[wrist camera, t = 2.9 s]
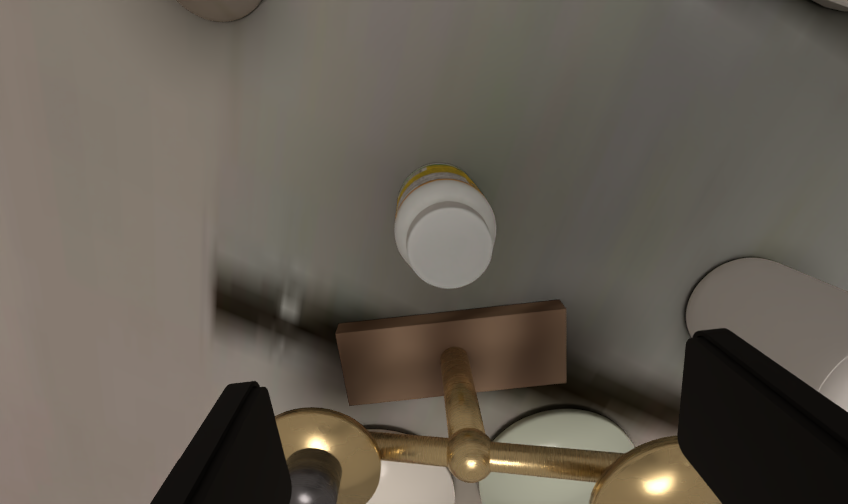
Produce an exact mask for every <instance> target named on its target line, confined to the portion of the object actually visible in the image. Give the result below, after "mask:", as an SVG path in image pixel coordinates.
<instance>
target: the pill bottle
mask: <svg viewBox="0 0 848 504" xmlns="http://www.w3.org/2000/svg"><path fill="white" fill-rule="evenodd" d="M686 323H687V328H688V331H689V333H690V335H691V337H693V335H694V333H695V332H697V331H700V330H709V329H718V328H726V329H728V330H730V331H732V332H733V333H735V334H736V335H737V336H739V337H740V338H742V339H743V340H745V341H746V342H747V343H749V344H750V345H752V346H753V347H755V348H756V349H758V350H759V351H760V352H762V353H763V354H765V355H766V356H768V357H769V358H770V359H772V360H773V361H775V362H776V363H778V364H779V365H781V366H782V367H783V368H785V369H786V370H788V371H789V372H791V373H792V374H794V375H795V376H796V377H798V378H799V379H801V380H802V381H804V382H805V383H806V384H808V385H809V386H811V387H812V388H814V389H815V390H817V391H818V392H819V393H821V394H822V395H824V396H825V397H827V398H828V399H829V400H831V401H832V402H834V403H835V404H837V405H838V406H840V407H841V408H842V409H844V410H845V411H847V412H848V292H847V291H845V290H842V289H840V288H837V287H835V286H833V285H830V284H828V283H826V282H823V281H821V280H818V279H816V278H814V277H811V276H809V275H806V274H804V273H802V272H799V271H797V270H795V269H792V268H790V267H787V266H785V265H783V264H780V263H778V262H774V261H771V260H767V259H763V258H742V259H737V260H733V261H730V262H727V263H725V264H723V265H721V266H719V267H717V268H716V269H714V270H713V271H711V272H710V273H709V274H707V275H706V276H705V277H704V278H703V279H702V280H701V281H700V282H699V284H698V285H697V286H696V288H695V289H694V291H693V293H692V294H691V297H690V299H689V302H688V305H687V309H686Z"/></svg>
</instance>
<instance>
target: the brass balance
mask: <svg viewBox="0 0 848 504" xmlns="http://www.w3.org/2000/svg"><path fill="white" fill-rule="evenodd" d="M335 335H336V340H337V345H338V350H339V355H340V360H341V366H342V371H343V376H344V381H345V386H346V391H347V396H348V402H349V406H353V405H362V404H372V403H381V402H390V401H400V400H409V399H418V398H428V397H437V396H444V399H445V408H446V417H447V426H448V435H449V438H442V437H431V436H419V435H407V434H396V433H384V432H373V431H368V430H367V429H366V428H365V427H364V426H363V425H362V424H360V423H359V422H357V421H356V420H355V419H353V418H351V417H349V416H347V415H345V414H343V413H340V412H337V411H334V410H330V409H324V408H313V407H310V408H299V409H293V410H290V411H286V412H284V413H281V414H279V415H277V416H275V420H276V424H277V428H278V431H279V435H280V439H281V443H282V447H283V451H284V455H285V458H286V462H287V466H288V470H289V474H290V478H291V483H292V494H291V500H290V503H289V504H366V503H367V502H368V501H369V500H370V499H371V497H372V496H373V495H374V493H375V491H376V489H377V487H378V484H379V480H380V473H381V460H382V461H391V462H401V463H411V464H420V465H430V466H440V467H448V468H449V470H450V472H451V473H452V474H453V475H454V476H455V477H456V478H458V479H459V480H461V481H464V482H467V483H475V482H479V481H481V480H483V479H485V478H486V477H487V476H488V475H489V474H490V473H491V472H498V473H508V474H517V475H527V476H537V477H546V478H556V479H566V480H575V481H585V482H595V483H596V484H595V486H594V488H593V490H592V493H591V496H590V500H589V504H722V503H721V502H720V500H719V499H718V498H717V497H716V495H715V494H714V493H713V492H712V490H711V489H710V488H709V486H708V485H707V484H706V483H705V481H704V480H703V479H702V478H701V476H700V475H699V474H698V473H697V471H696V470H695V469H694V468H693V466H692V465H691V464H690V462H689V461H688V460H687V459H686V457H685V456H684V455H683V453H682V451H681V449H680V447H679V444H678V436H670V437H664V438H660V439H656V440H652V441H650V442H647V443H644V444H642V445H640V446H638V447H636V448H634V449H632V450H630V451H628V452H627V453H616V452H605V451H593V450H582V449H570V448H558V447H547V446H535V445H524V444H512V443H500V442H492V441H491V440H490V438H489V437H488V436H487V435H486V434H485V430H484V426H483V421H482V417H481V412H480V408H479V403H478V399H477V394H476V392H484V391H493V390H503V389H512V388H521V387H531V386H540V385H549V384H559V383H566V308H565V307H564V305H563V304H562V303H561V301H560V300H551V301H542V302H533V303H524V304H515V305H505V306H496V307H487V308H478V309H469V310H459V311H450V312H441V313H432V314H423V315H413V316H404V317H395V318H386V319H377V320H367V321H358V322H349V323H340V324H338V327H337V330H336V333H335Z"/></svg>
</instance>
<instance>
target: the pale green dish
mask: <svg viewBox="0 0 848 504" xmlns="http://www.w3.org/2000/svg"><path fill="white" fill-rule="evenodd" d="M493 442H500V443H512V444H524V445H535V446H547V447H558V448H570V449H582V450H593V451H605V452H616V453H627V452H628V451H630V450H632V449H634V448H635V447H634V445H633V444H632V442H631V441H630V439H629V437H628V436H627V435H626V433H625V432H624V431H623V430H622V429H621V428H620V427H619V426H618V425H617V424H615V423H614V422H612V421H611V420H609V419H608V418H606V417H604V416H601V415H599V414H596V413H593V412H590V411H585V410H579V409H554V410H548V411H543V412H540V413H536V414H533V415H530V416H528V417H525V418H523V419H521V420H519V421H517V422H515V423H514V424H512V425H511V426H509V427H508V428H506V429H505V430H504V431H503V432H502V433H500V434H499V435H498V436H497V437H496V438H495V440H494V441H493ZM595 484H596V483H595V482H585V481H575V480H566V479H556V478H546V477H537V476H527V475H517V474H508V473H498V472H491V473H490V474H489V475H488V476H487V477H486V478H485V479H483V480H481V481H479V482H478V485H479V491H480V497H481V501H482V503H483V504H589V500H590V496H591V493H592V490H593V488H594V486H595Z"/></svg>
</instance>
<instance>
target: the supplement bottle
mask: <svg viewBox="0 0 848 504" xmlns="http://www.w3.org/2000/svg"><path fill="white" fill-rule="evenodd" d="M394 234H395V241H396V244H397V247H398V250H399V252H400V254H401V256H402V257H403V259H404V260H405V261H406V262H407V264H408V265H409V266H410V267H411V268H412V269H413V270H414V272H415V273H416V274H417V275H418V276H419V277H420V278H421V279H422V280H423V281H425V282H426V283H428V284H430V285H433V286H435V287H439V288H445V289H452V288H459V287H462V286H465V285H468V284H470V283H472V282H474V281H475V280H476V279H478V278H479V277H480V276H481V275H482V274H483V272H484V271H485V270H486V268H487V267H488V265H489V263H490V260H491V257H492V252H493V246H494V243H495V239H496V220H495V216H494V213H493V210H492V208H491V206H490V204H489V202H488V201H487V200H486V198H485V197H484V195H483V194H482V193H481V191H480V190H479V189H478V188H477V186H476V185H475V184H474V182H473V181H472V180H471V179H470V178H469V177H468V176H467V175H466V174H465V173H464V172H463V171H462V170H461V169H459V168H457V167H455V166H453V165H450V164H444V163H434V164H429V165H425V166H423V167H421V168H419V169H417V170H415V171H414V172H413V173H412V174H410V175H409V176H408V178H407V179H406V180H405V181H404V183H403V185H402V187H401V189H400V192H399V195H398V199H397V210H396V217H395V226H394Z"/></svg>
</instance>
